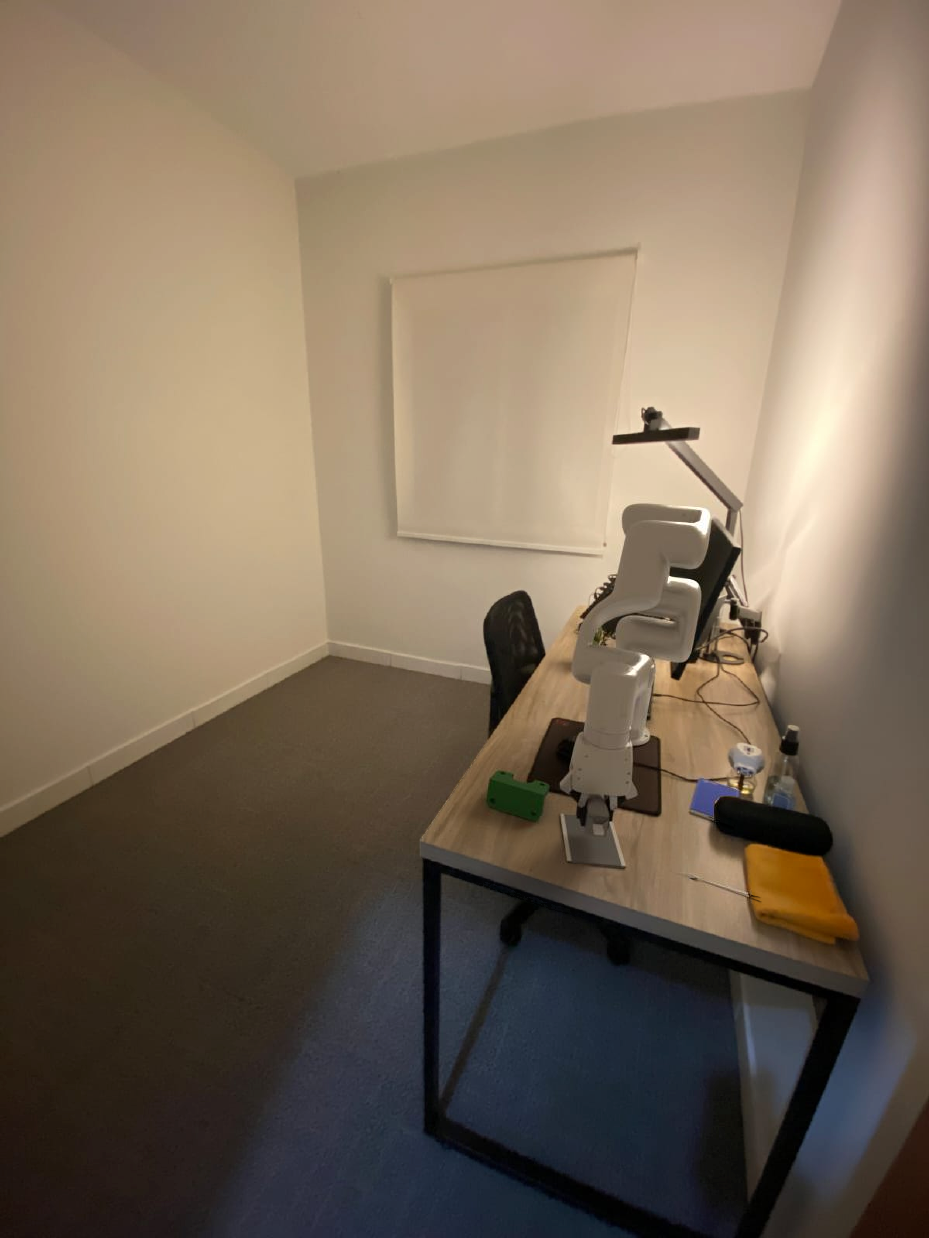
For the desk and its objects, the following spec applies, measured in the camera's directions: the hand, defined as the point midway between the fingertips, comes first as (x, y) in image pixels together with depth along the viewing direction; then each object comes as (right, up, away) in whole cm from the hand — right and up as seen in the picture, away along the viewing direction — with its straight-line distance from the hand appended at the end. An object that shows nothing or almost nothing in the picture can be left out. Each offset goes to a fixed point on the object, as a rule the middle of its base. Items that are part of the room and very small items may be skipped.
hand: (593, 821), depth 89 cm
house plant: (+20, +20, +80) cm, 84 cm away
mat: (0, -4, +1) cm, 4 cm away
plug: (0, 0, 0) cm, 1 cm away
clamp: (-13, -1, +10) cm, 16 cm away
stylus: (+16, -8, -6) cm, 19 cm away
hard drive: (+29, -2, +13) cm, 32 cm away
